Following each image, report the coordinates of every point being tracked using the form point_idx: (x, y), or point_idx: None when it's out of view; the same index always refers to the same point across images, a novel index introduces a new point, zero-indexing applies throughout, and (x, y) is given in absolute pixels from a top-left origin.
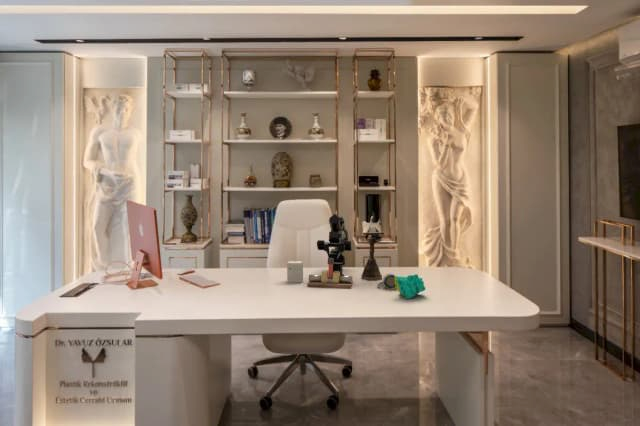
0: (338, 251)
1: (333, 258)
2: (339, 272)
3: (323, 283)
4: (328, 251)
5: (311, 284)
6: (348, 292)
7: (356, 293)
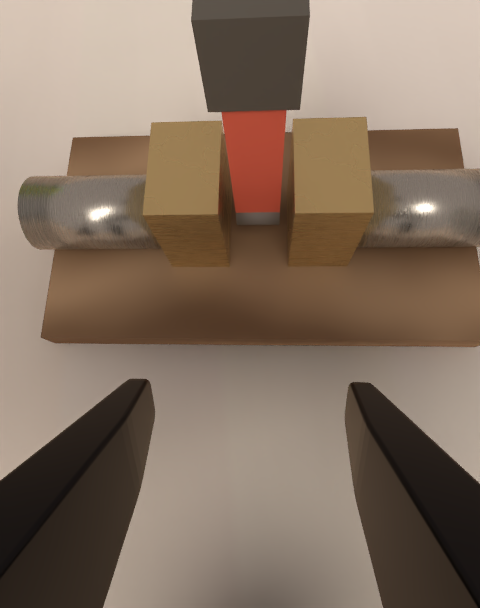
0: (12, 511)
1: (193, 15)
2: (148, 191)
3: None
4: (452, 513)
5: (419, 131)
6: (105, 48)
7: (52, 34)
